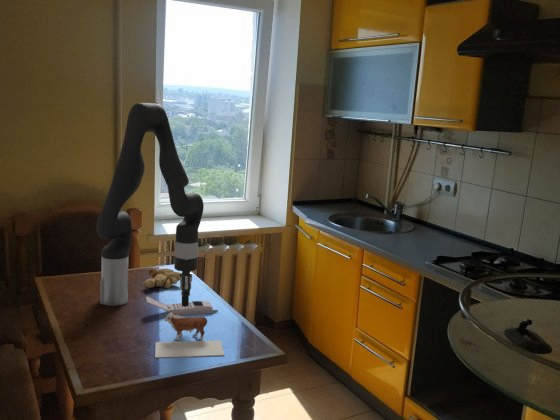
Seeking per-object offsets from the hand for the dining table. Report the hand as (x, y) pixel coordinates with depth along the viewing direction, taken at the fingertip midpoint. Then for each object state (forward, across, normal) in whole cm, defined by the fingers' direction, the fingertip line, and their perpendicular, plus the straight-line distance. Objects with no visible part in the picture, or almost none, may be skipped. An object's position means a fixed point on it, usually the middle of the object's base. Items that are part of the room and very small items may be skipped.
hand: (185, 305), depth 176 cm
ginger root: (+7, -43, -7) cm, 45 cm away
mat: (+8, +17, +1) cm, 18 cm away
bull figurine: (+8, +9, 0) cm, 12 cm away
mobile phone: (+8, -13, 0) cm, 15 cm away
